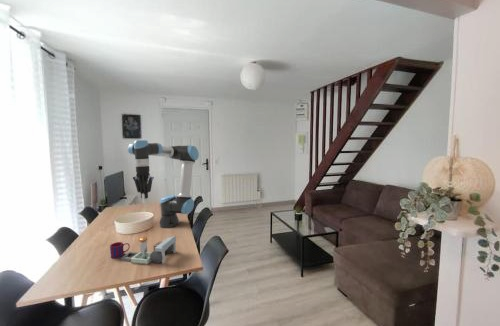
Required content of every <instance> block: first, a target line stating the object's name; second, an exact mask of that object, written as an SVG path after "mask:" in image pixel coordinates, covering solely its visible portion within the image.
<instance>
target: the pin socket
mask: <svg viewBox="0 0 500 326" xmlns="http://www.w3.org/2000/svg"><path fill="white" fill-rule="evenodd" d="M138 253H139V252H135V251H129V252H126V254H124V255H123V256H121V257H120V260H121V261H125V262H131V258H133V257H134V256H135V255H137V254H138ZM130 256H132V257H130Z"/></svg>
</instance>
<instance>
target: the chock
mask: <svg viewBox="0 0 500 326" xmlns="http://www.w3.org/2000/svg"><path fill="white" fill-rule="evenodd" d="M162 242H163V241H161V240H160V241H158V242H156V243H155V244H154V245H153V251H154V250H155V247H157V246H158V245H159V244H161V243H162Z"/></svg>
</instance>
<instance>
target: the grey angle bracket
mask: <svg viewBox="0 0 500 326" xmlns="http://www.w3.org/2000/svg"><path fill="white" fill-rule="evenodd" d="M176 242H177V235H176V234H175V235H173V236H172V237H168V236H167V238H165V239H164V240H163V241H162V243H161V244H159V245H158V246H157V247H155V250H154V249H153V251H152V252H150V253H151V255H150V258H151V260H152V261H151V262H152V263H153V264H159V263H161V264H165V263H166V253H167V254H170V253H171V252H173V254H176V253H177V246H176V245H177V244H176Z"/></svg>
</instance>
